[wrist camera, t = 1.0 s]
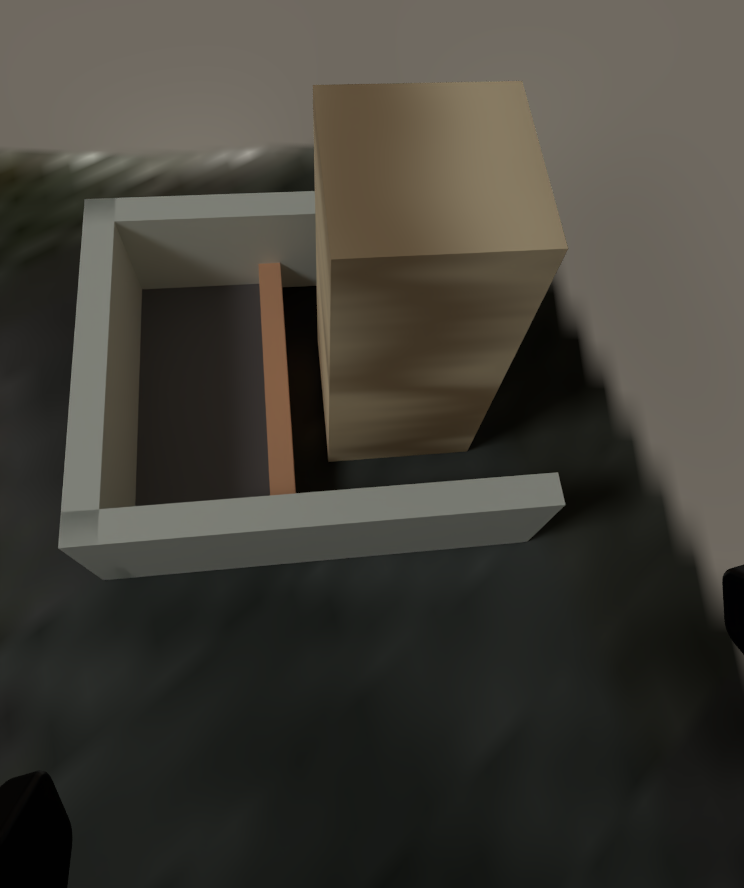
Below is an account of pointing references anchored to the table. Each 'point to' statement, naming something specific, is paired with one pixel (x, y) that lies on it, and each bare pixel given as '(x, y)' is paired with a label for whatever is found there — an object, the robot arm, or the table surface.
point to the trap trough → (225, 406)
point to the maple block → (425, 258)
